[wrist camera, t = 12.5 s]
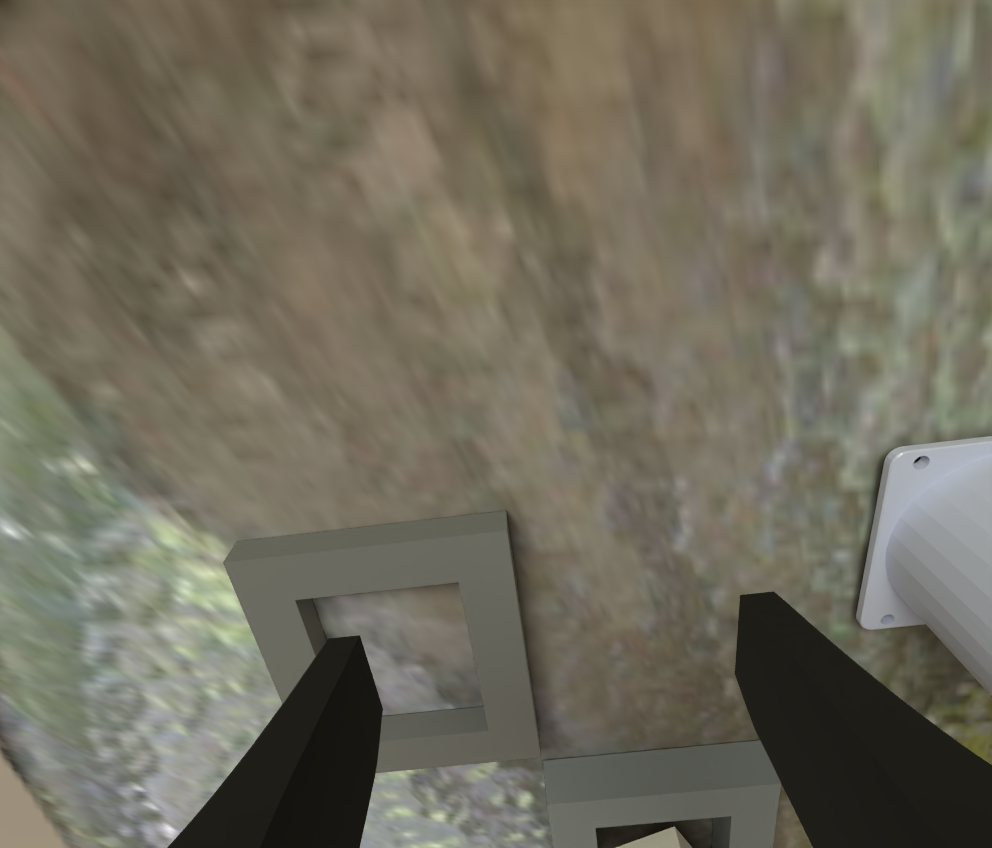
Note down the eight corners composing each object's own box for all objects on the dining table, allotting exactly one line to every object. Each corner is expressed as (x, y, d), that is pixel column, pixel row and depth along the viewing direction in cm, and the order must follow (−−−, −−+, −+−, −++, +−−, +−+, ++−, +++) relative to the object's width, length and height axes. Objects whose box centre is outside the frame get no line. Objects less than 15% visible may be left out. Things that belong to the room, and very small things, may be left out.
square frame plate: (506, 510, 21) (507, 530, 20) (538, 731, 26) (541, 757, 25) (236, 541, 21) (223, 562, 20) (321, 752, 27) (314, 778, 25)
